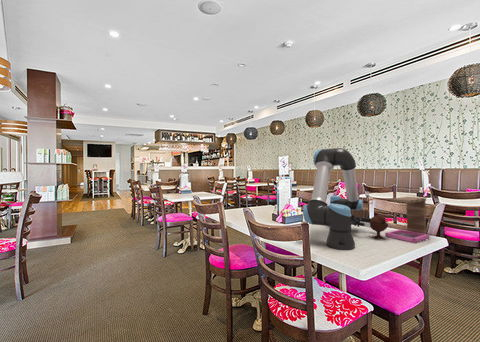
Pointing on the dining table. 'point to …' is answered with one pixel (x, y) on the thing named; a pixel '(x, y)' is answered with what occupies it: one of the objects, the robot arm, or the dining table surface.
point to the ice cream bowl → (378, 225)
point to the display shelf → (415, 213)
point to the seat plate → (407, 236)
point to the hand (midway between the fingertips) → (376, 224)
